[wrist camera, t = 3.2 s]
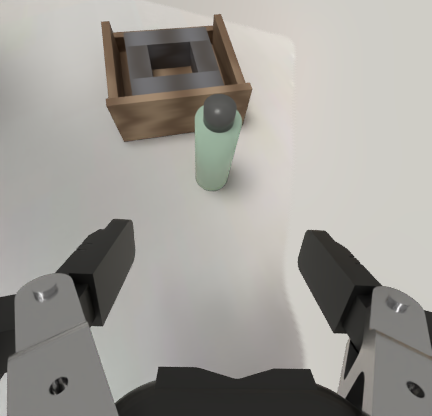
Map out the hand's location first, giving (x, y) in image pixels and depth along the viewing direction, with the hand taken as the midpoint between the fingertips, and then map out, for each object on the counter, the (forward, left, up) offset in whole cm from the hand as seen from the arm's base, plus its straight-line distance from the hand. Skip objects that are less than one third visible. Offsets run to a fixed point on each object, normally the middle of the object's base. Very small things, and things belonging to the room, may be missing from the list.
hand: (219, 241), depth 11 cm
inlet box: (+1, +26, -15) cm, 30 cm away
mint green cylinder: (+3, +11, -15) cm, 19 cm away
